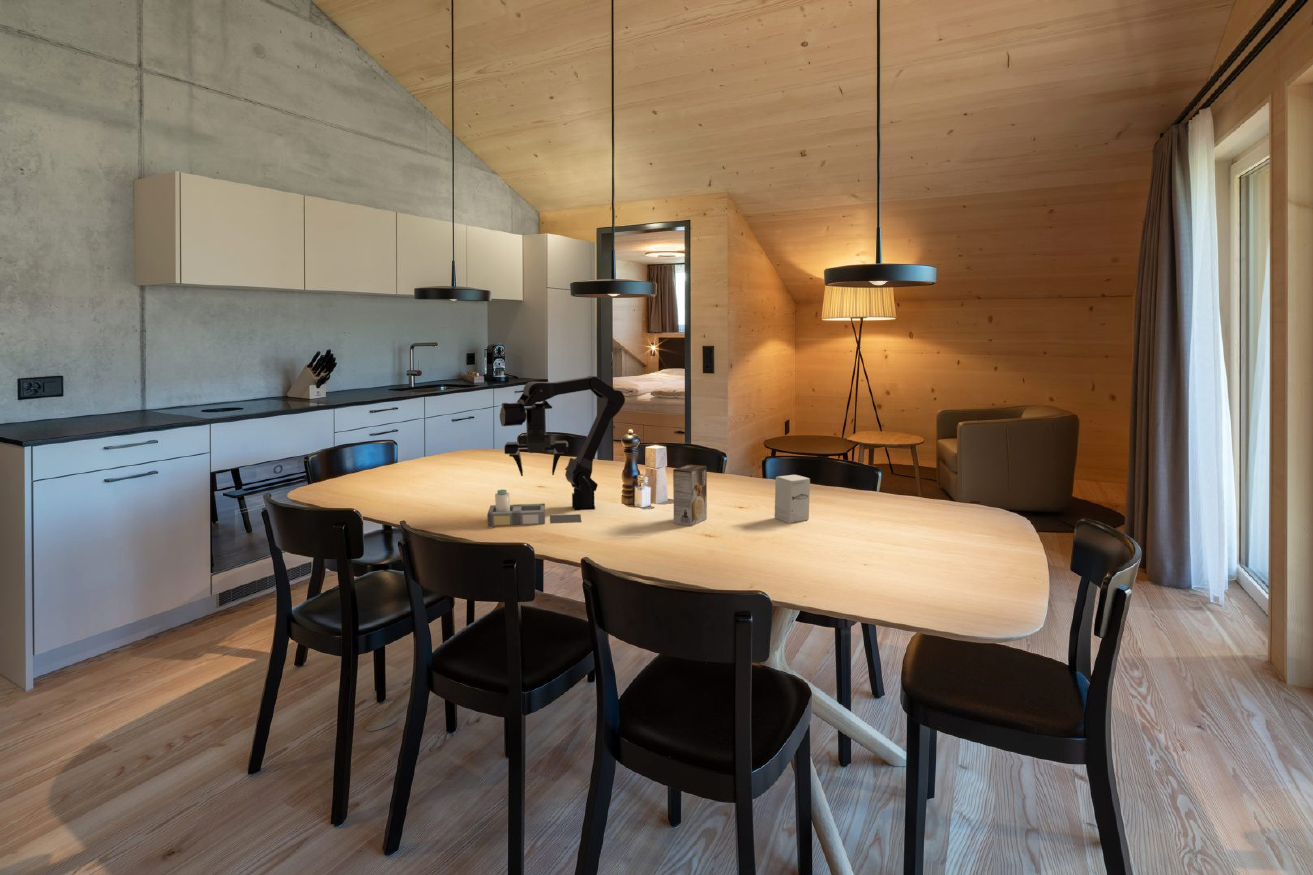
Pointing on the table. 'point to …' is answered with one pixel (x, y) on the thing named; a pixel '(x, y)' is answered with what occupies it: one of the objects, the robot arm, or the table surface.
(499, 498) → the beige and green cylinder
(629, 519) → the table surface
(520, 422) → the robot arm
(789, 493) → the supplement box
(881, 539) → the table surface
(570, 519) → the mat
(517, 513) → the socket block
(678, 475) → the coffee box
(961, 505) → the table surface
